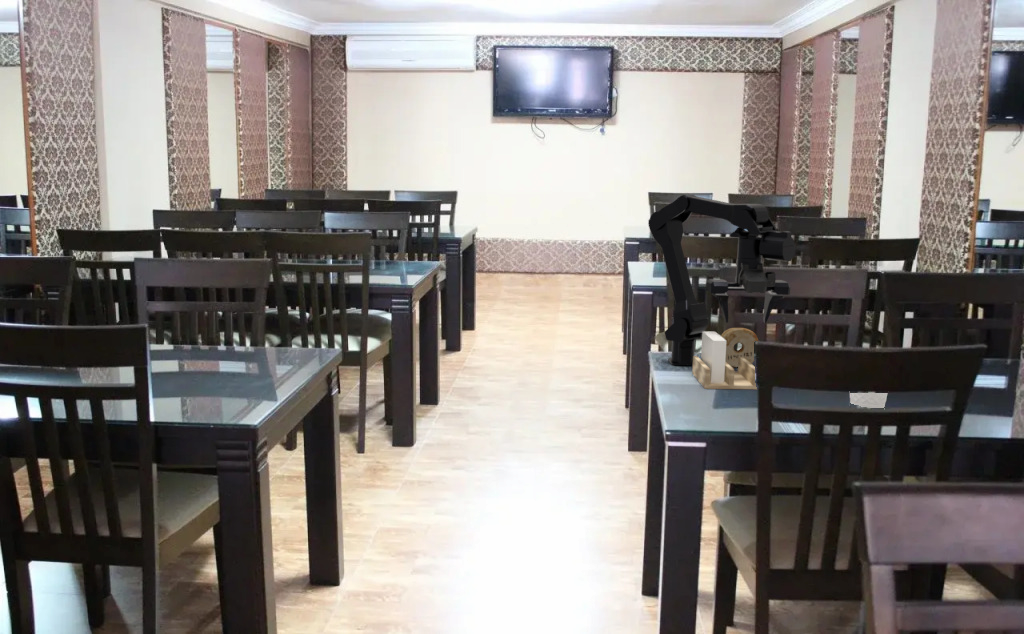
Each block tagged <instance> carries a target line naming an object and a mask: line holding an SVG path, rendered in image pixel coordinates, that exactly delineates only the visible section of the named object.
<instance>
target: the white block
mask: <svg viewBox="0 0 1024 634" xmlns="http://www.w3.org/2000/svg"><path fill="white" fill-rule="evenodd" d="M700 351H701V353H700V355H701V356H700V359H701V360H702V361H703V362H704V363H705V364H706V366H707V367H708V368H709V369H710V383H718V384H724V375H725V358H726V340H725V339H724V338H722V337H721V334H719V333H717V332H716V331H706V330H705V331H703V332H702V336H701V350H700Z"/></svg>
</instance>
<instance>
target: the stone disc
mask: <svg viewBox="0 0 1024 634" xmlns="http://www.w3.org/2000/svg"><path fill="white" fill-rule="evenodd" d="M720 336H721V337H722V338H724V339H725V340H726V358H725V361H726V362H727V363H728V364H729V365H730V366H731V367H732V368H737V367H738V358H739V357H744V358H745V359H746V360H747V361H749V362H750V363H751V364H752V365H753V363H754V362H755V360H754V342H755V341H758V342H759V339H758V336H757V334H756V333H755V332H754V331H752V330H751V329H749V328H745V327H731V328H727V329H726V330H724V331H723V332H722V333H721V334H720ZM738 343H740V345H741V348H739V349H738V350H737V349H735V345H736V344H738Z"/></svg>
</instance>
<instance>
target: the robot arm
mask: <svg viewBox="0 0 1024 634" xmlns="http://www.w3.org/2000/svg"><path fill="white" fill-rule="evenodd" d="M693 213H694V214H698V215H703V216H708V217H712V218H718V219H720V220H721V219H722V220H725V221H727V222H729V224H731V225H734V226H736V229H735V230H734V231H733V232H731V233H730V235H729V237H731V238H737V240H738V241H737V242H738V243H737V254H736V257H737V258H736V261H735V265H736V272H735V274H736V275H735V277H734V282H728V281H727V280H725V279H723V278H721V279H719V278H718V279H717V278H709V279H708V280H707V281H706V283H705V284H706V286H705V287H706V288H705V291H706V292H708V293H709V294H711V295H712V296H713V297H715V298H716V299H717V302H718V303H719V306H720V309H721V312H722V317H723V318H724V322H725V323H729V297H730V295H728V294H727V292H728V291H737V292H738V291H741V292H742V291H744V292H745V293H747V294H753V293H760V294H765V295H764V305H763V313H762V314H763V316H762V319H763V323H764V324H767V323H768V320H769V318H770V315H771V313H772V312H773V308H774V307H775V305H776V304H777V302H778V301H779V300H780V299H784V298H785V296H790V295H791V284H790V283H789V282H788V281H785V280H783V279H776V275H777V274H776V272H775V271H766V272H764V266H763V265H764V263H763V259H765V260H768V261H777V262H778V261H779V262H791V261H792V260H793V258H794V257H795V254H796V248H797V246H796V243H795V239H794V238H793V237H792V234H793V233H792V231H787V230H786V231H778V230H777V228H776V226H775V224H774V222H773V221H772V219H771V217H770V214H769V210H768V209H767V207H766V205H764V204H762V203H732V202H731V203H730V202H725V201H721V200H715V199H711V198H706V197H701V196H697V195H695V194H682V195H680V196H679V197H677V198H676V199H675V200H674V201H673V202H670V203H669V204H667V205H665V206H664V207H662V208H661V209H660V210H658V211H654V212H653V213H652V214H651V215H650V218H649V219H648V224H647V225H648V228H649V231H650V232H651V235H652V238H653V239H654V241H656V243H657V244H658V246H659V247H660V248H661V250H662V254H663V259H664V263H665V266H666V271H667V274H668V278H669V282H670V286H671V290H672V293H673V297H674V298H673V299H674V301H675V302H674V307H673V312H672V319H673V323H672V324H671V325H670V326H669V327H667V329H665V331H664V335H665V339H666V341H670V342H671V357H668V358H667V361H668V362H669V363H670V365H673V366H693V356H695V353H696V352H695V350H696V340H697V339H702V332H703V331H706V329H707V327H708V325H709V319H710V316H709V315H708V312H707V311H708V310H707V306H706V304H705V302H699V301H698V300H697V299H696V296H695V294H694V290H693V286H692V282H691V278H690V275H689V274H690V273H689V271H688V267H687V262H686V258H685V255H684V251H683V247H682V239H683V234H684V225H683V224H684V223H685V222H686V221H688V220H689V218H690V217H691V215H692V214H693Z"/></svg>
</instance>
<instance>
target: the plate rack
mask: <svg viewBox="0 0 1024 634" xmlns="http://www.w3.org/2000/svg"><path fill="white" fill-rule="evenodd" d="M691 371H692V372H691V373H692V374H693V375H694V376H695V377H696V378H695V377H694V376H693V375H692V374H691V375H692V376H693V377H694V378H695V379H696V380H697V379H698V380H697V382H698V383H699V384H700V383H701V384H702V385H701V386H702V387H703V389H704V390H706V389H707V390H758V389H757V387H756V383H755V365H753V363H752V364H751V363H750V362H749V361H747V360H746V359H745V358H744V357H739V358H738V368H737V371H735V368H734V367H731V366H730V365H729V364H728V363H727V362H726V361H725V375H724V384H718V383H710V369H709V368H708V367H707V366H706V364H705V363H704V362H703V361H702V360H701V357H699V356H698V355H694V356H693V365H692V370H691Z"/></svg>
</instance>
